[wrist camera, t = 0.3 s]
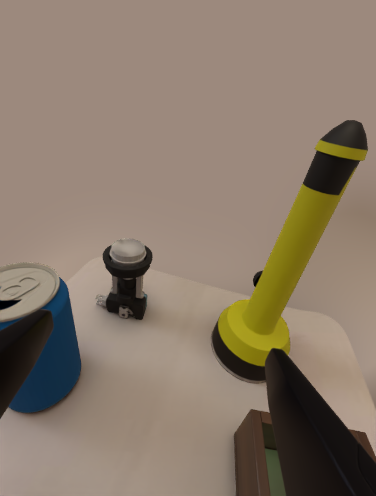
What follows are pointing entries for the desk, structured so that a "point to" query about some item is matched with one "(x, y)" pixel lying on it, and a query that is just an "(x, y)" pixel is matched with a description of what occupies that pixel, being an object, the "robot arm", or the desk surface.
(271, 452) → the wooden divided tray
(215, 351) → the flashlight
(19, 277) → the beverage can
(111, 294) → the push button
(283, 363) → the robot arm
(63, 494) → the desk surface
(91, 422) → the desk surface
